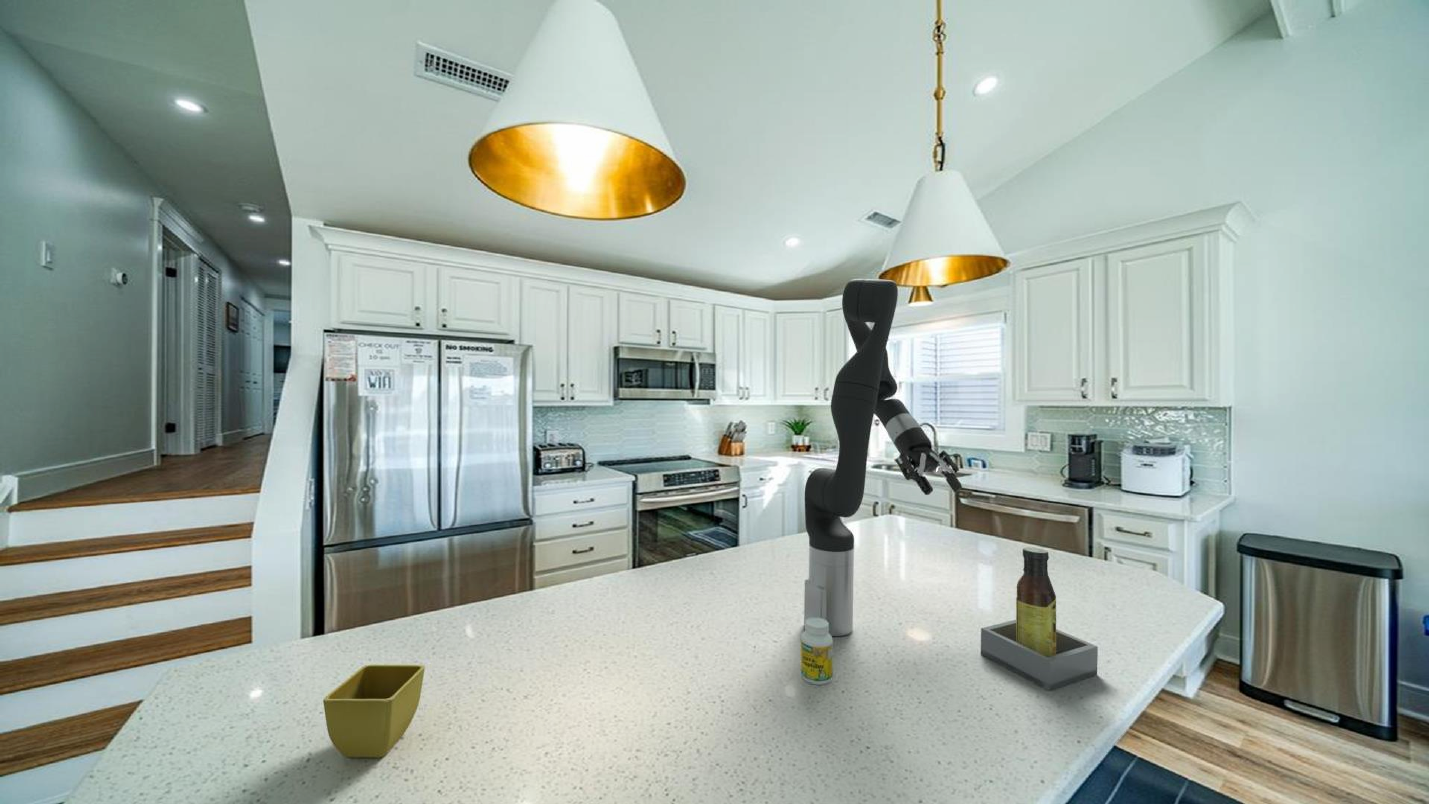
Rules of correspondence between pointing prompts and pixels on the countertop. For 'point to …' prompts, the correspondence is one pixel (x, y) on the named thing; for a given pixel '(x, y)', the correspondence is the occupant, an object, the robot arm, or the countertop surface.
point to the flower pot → (373, 708)
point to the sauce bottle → (1036, 604)
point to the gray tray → (1040, 657)
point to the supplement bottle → (816, 652)
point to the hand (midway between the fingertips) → (944, 491)
